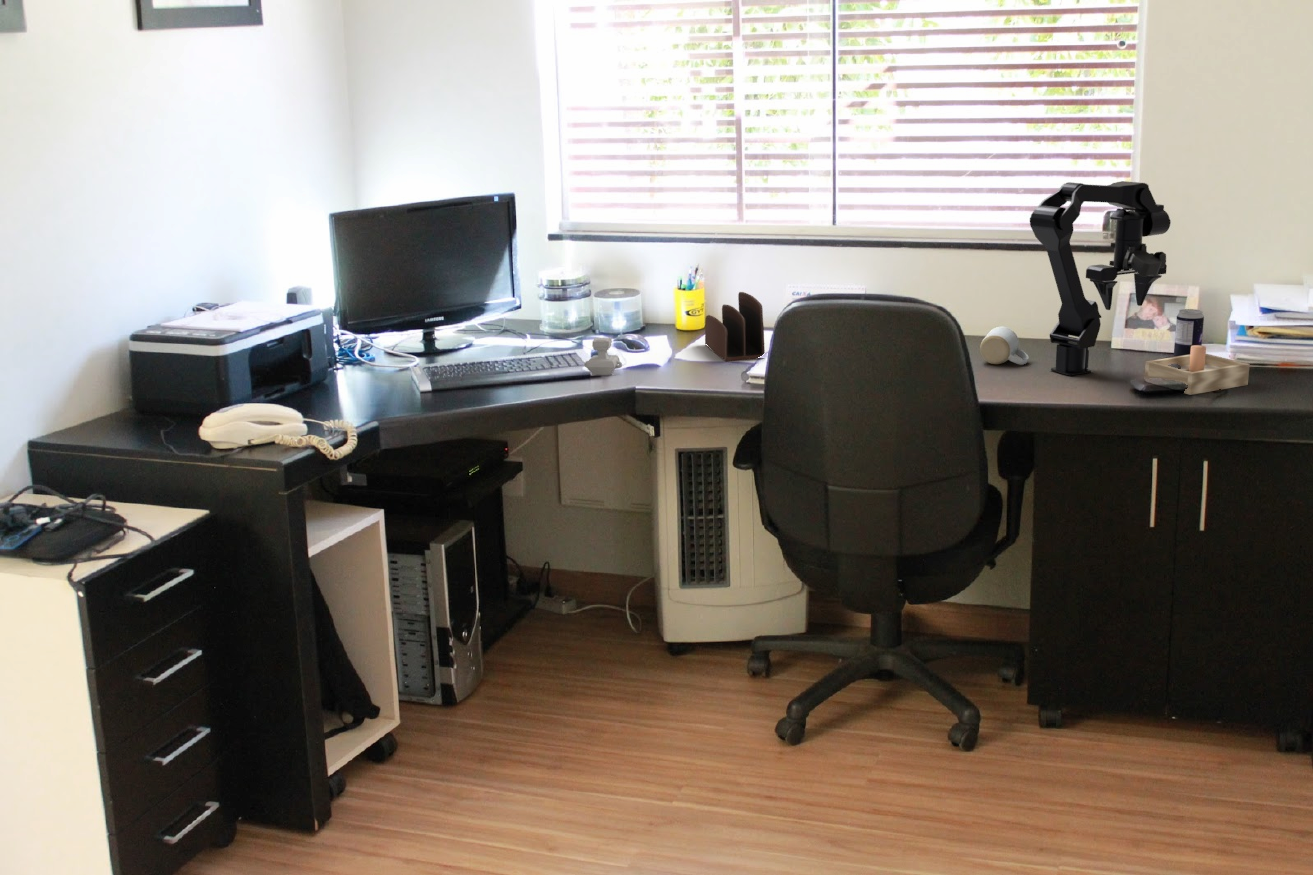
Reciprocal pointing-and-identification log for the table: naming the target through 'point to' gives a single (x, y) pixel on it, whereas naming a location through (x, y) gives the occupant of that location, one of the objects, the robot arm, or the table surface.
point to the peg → (1197, 358)
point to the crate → (1200, 373)
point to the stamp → (602, 358)
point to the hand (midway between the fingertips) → (1123, 307)
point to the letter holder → (737, 330)
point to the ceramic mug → (1002, 347)
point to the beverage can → (1188, 331)
